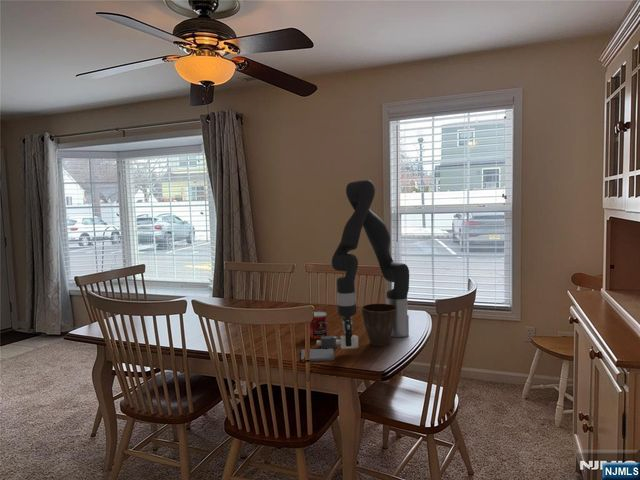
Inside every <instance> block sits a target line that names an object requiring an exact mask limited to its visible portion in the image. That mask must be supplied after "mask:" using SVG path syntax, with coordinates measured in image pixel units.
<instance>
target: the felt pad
mask: <svg viewBox="0 0 640 480" xmlns="http://www.w3.org/2000/svg"><path fill="white" fill-rule="evenodd" d="M305 349H306V348H305ZM305 349H301V352H300V353H301V355H300V361H301V360H302V359H304V357H305ZM309 349H310V361H309V362H320V361H321V362H322V361H327V362H328V361H335V353H334V348H327V349H322V348H312V349H311V348H309Z"/></svg>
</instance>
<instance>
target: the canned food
mask: <svg viewBox="0 0 640 480" xmlns="http://www.w3.org/2000/svg"><path fill="white" fill-rule="evenodd" d="M327 316H328V315H327V312H325V311H314V317H313V320H312V322H311V323H310V322H309V323H310V324H309V325H310V338H311V339H312V340H314V341H315V340H316V341H317V340H321V336H328V317H327Z"/></svg>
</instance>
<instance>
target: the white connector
mask: <svg viewBox="0 0 640 480" xmlns="http://www.w3.org/2000/svg"><path fill="white" fill-rule="evenodd" d="M336 344H338V345H340V349H358V348H359V336H358V335H354V334H352V337H351V346H346V337H345V334H344V335H340V339H338V340H336Z"/></svg>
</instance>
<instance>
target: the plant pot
mask: <svg viewBox="0 0 640 480" xmlns="http://www.w3.org/2000/svg"><path fill="white" fill-rule="evenodd" d="M396 310H397V307H396V306H393V305H390V304H387V303H369V304H364V305H362V306H361V313H362V319H363V323H364V328H365V331H366V334H367V337H368V340H369V342H370V344H371V345H372V346H375V347H385V346H388V345H389V343H390V340H391V337H392V336H391V334H392V331H393V327H394V323H395V317H396Z"/></svg>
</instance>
